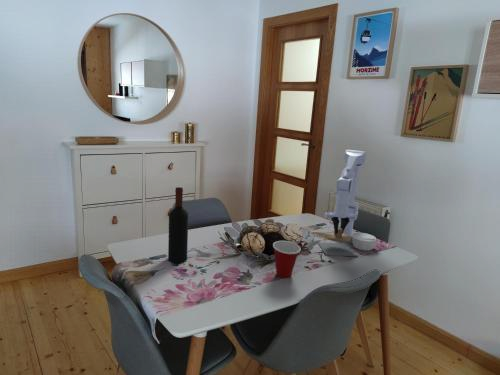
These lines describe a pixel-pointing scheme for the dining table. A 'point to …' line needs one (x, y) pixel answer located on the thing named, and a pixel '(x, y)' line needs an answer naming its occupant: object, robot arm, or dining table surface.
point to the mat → (336, 249)
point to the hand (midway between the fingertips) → (338, 232)
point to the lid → (338, 236)
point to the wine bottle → (178, 230)
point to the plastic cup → (285, 257)
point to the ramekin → (363, 241)
